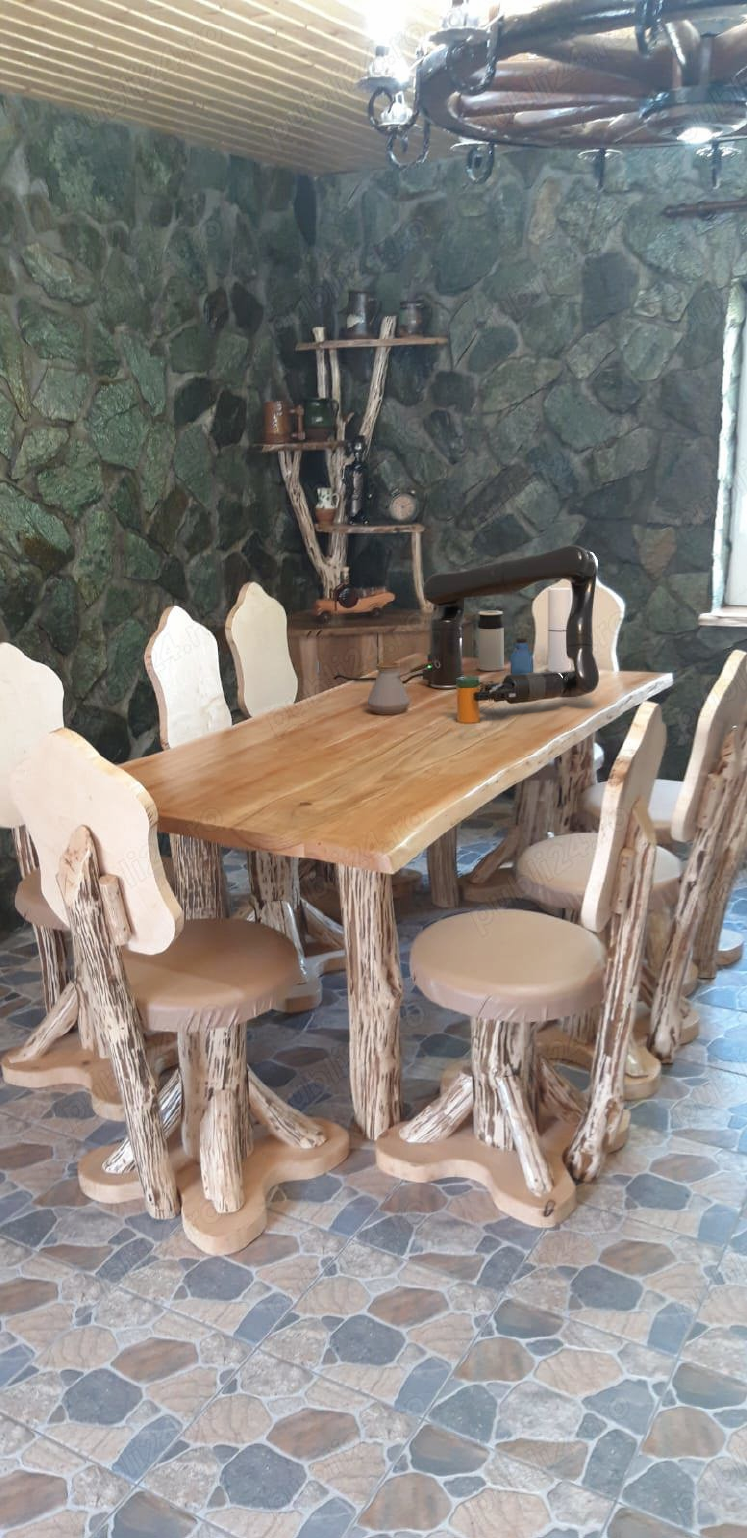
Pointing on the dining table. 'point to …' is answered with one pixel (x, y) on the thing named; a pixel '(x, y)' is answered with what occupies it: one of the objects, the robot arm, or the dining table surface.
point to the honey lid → (467, 681)
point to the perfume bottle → (521, 658)
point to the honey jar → (467, 705)
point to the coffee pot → (391, 689)
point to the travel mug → (490, 641)
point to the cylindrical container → (558, 628)
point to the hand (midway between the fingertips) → (467, 693)
